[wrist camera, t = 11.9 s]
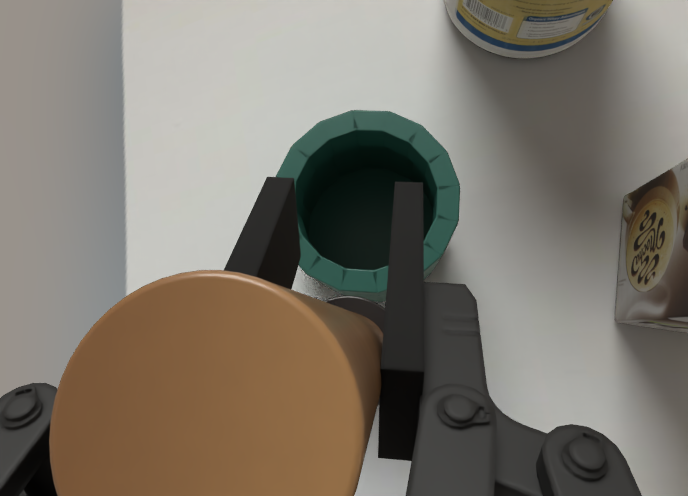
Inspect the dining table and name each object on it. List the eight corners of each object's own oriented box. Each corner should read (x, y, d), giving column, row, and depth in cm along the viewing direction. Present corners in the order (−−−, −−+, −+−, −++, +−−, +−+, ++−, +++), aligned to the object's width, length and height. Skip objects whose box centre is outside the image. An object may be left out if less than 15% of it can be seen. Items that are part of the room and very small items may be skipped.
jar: (446, 167, 39) (463, 112, 29) (439, 306, 37) (455, 298, 27) (309, 161, 40) (281, 107, 30) (298, 296, 38) (264, 285, 29)
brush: (406, 304, 22) (446, 212, 5) (402, 402, 22) (426, 727, 4) (312, 298, 23) (17, 193, 5) (305, 394, 22) (-54, 660, 4)
